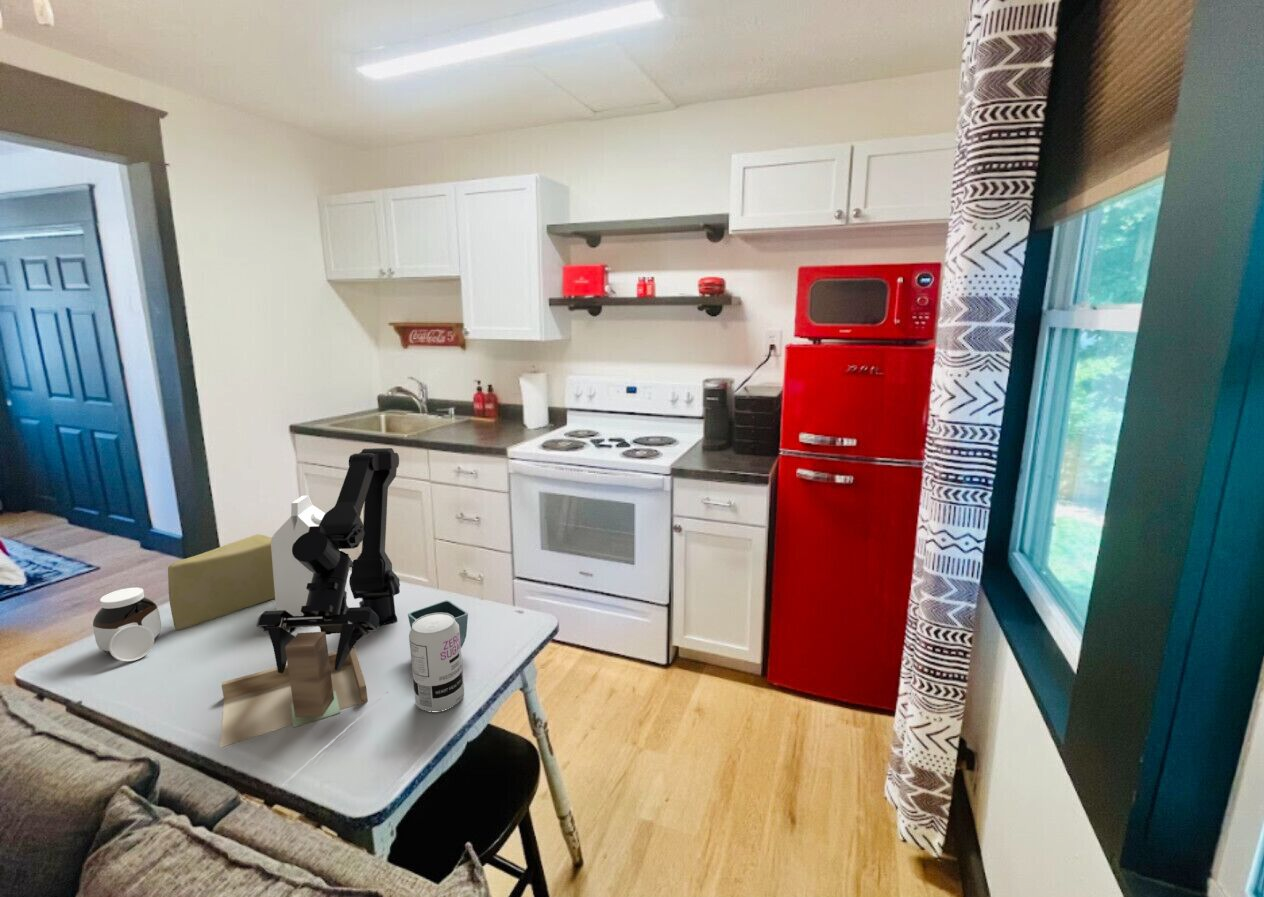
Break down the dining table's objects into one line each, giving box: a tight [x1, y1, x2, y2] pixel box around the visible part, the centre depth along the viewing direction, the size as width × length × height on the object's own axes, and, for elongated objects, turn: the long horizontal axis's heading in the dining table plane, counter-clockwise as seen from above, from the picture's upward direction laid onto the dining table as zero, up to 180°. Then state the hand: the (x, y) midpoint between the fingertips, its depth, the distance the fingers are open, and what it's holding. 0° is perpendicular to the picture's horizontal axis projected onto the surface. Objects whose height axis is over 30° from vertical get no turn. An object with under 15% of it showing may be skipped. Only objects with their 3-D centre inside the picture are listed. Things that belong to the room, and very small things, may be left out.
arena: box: [219, 646, 369, 748], centre depth 104 cm, size 22×16×3 cm
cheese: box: [167, 533, 275, 631], centre depth 137 cm, size 22×10×15 cm, turn 150°
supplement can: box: [408, 613, 465, 713], centre depth 103 cm, size 8×8×15 cm
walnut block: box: [285, 631, 334, 717], centre depth 100 cm, size 4×4×13 cm
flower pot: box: [407, 599, 469, 649], centre depth 118 cm, size 9×9×9 cm
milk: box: [271, 494, 349, 616], centre depth 138 cm, size 12×12×26 cm
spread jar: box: [92, 587, 162, 662], centre depth 120 cm, size 12×11×12 cm
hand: (308, 671), depth 100 cm, fingers open, 9 cm apart
